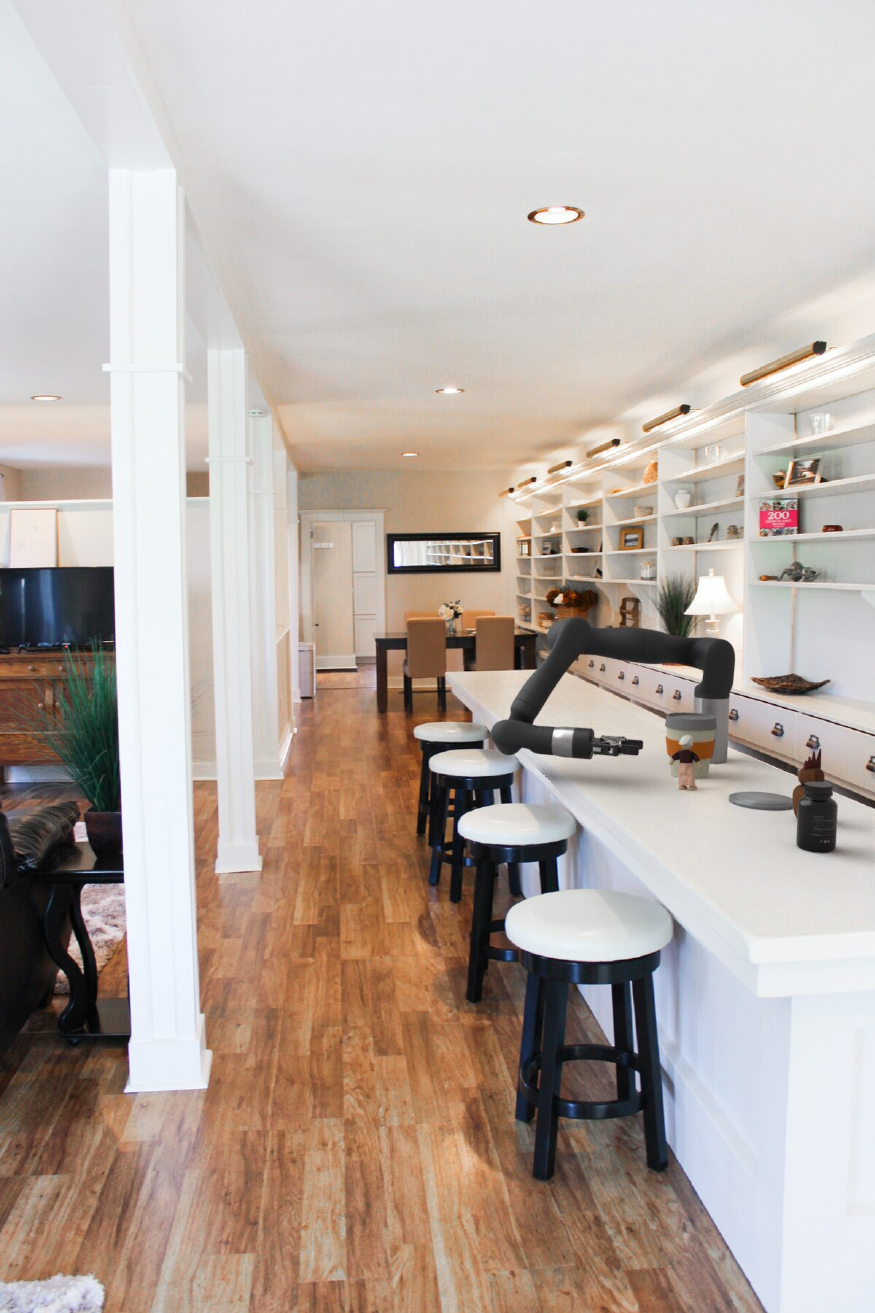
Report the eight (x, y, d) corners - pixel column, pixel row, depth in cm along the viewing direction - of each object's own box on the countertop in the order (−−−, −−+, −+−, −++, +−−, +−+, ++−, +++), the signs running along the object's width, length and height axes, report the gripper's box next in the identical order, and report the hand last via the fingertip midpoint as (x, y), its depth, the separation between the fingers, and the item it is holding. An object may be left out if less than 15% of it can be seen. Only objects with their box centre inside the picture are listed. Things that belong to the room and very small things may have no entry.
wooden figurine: (822, 818, 194) (825, 746, 193) (831, 826, 188) (834, 752, 187) (788, 817, 195) (791, 746, 193) (796, 824, 189) (799, 751, 188)
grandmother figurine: (702, 788, 221) (704, 734, 220) (701, 791, 217) (703, 737, 216) (668, 785, 224) (670, 732, 222) (667, 789, 220) (669, 735, 219)
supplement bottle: (789, 843, 176) (792, 780, 175) (824, 842, 176) (827, 779, 175) (806, 854, 169) (809, 788, 168) (843, 853, 169) (846, 788, 168)
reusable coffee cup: (659, 777, 232) (661, 717, 231) (667, 768, 244) (669, 711, 242) (712, 782, 227) (714, 721, 226) (717, 772, 239) (719, 714, 238)
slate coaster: (729, 792, 216) (729, 789, 216) (794, 798, 212) (794, 794, 212) (728, 806, 203) (728, 802, 203) (797, 812, 199) (797, 808, 199)
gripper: (568, 731, 221) (638, 736, 216) (578, 723, 234) (644, 728, 229) (567, 763, 221) (636, 769, 216) (577, 753, 235) (643, 758, 230)
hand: (640, 747), depth 223 cm, fingers open, 8 cm apart
